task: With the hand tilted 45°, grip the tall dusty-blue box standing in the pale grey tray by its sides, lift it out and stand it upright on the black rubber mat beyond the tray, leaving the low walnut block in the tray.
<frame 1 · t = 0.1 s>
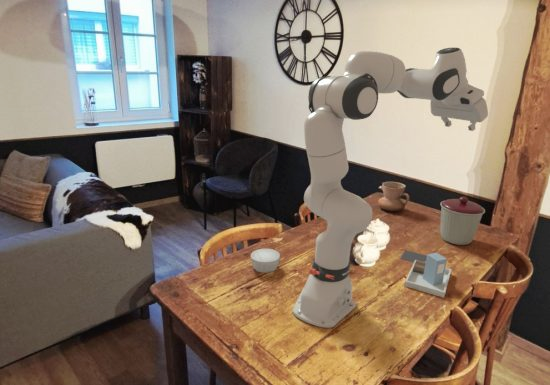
hand: (459, 127, 136), 54 cm above the table, tool tilted 30°, fingers open, 8 cm apart
mat: (413, 258, 154), on the table
canister: (455, 240, 171), on the table
tray: (427, 281, 138), on the table
ramekin: (265, 267, 144), on the table
blue box: (432, 280, 137), point 1 cm above the table, touching tray
ceramic jug: (391, 209, 207), on the table
walnut block: (420, 270, 143), point 1 cm above the table, touching tray
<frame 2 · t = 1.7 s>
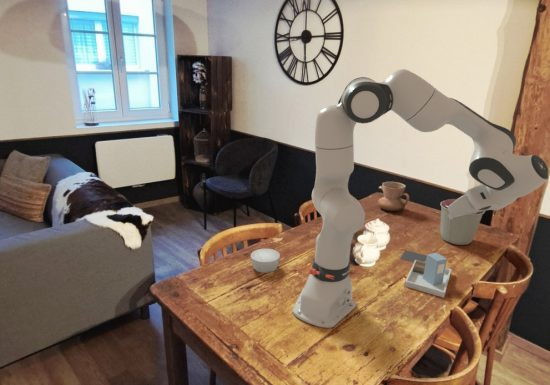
hand: (460, 214, 121), 30 cm above the table, tool tilted 45°, fingers open, 8 cm apart
nothing on the table moved.
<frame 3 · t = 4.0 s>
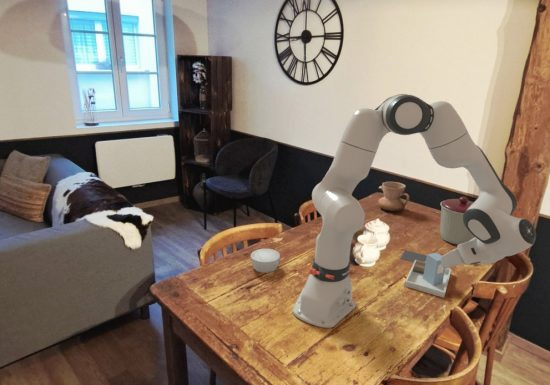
hand: (453, 262, 127), 12 cm above the table, tool tilted 45°, fingers open, 8 cm apart
nothing on the table moved.
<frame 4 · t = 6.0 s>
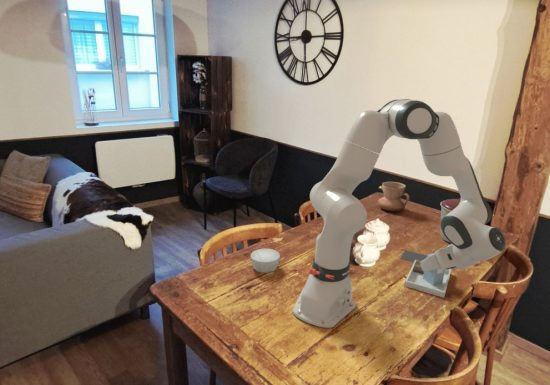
hand: (433, 266, 135), 6 cm above the table, tool tilted 45°, fingers closed on blue box, 4 cm apart
blue box: (432, 280, 137), point 1 cm above the table, touching gripper, tray
everything else where it was.
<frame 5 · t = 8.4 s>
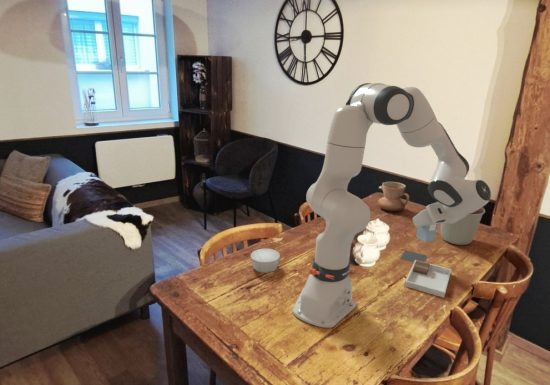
hand: (426, 224, 143), 18 cm above the table, tool tilted 45°, fingers closed on blue box, 4 cm apart
blue box: (425, 238, 144), point 12 cm above the table, touching gripper
everything else where it was.
when the fingers open (7 cm above the table, at t = 11.1 s): blue box drops 1 cm, resting on mat.
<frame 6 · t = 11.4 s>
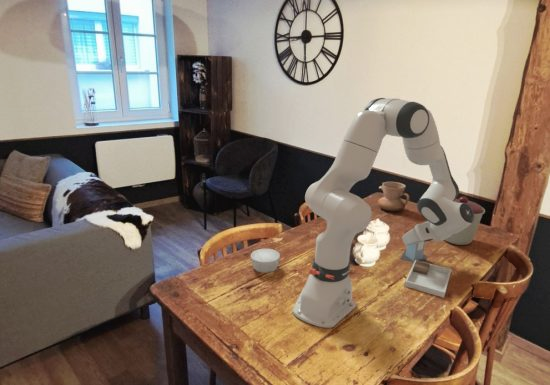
hand: (415, 241, 152), 7 cm above the table, tool tilted 45°, fingers open, 7 cm apart
blue box: (413, 257, 153), point 1 cm above the table, touching mat
everything else where it was.
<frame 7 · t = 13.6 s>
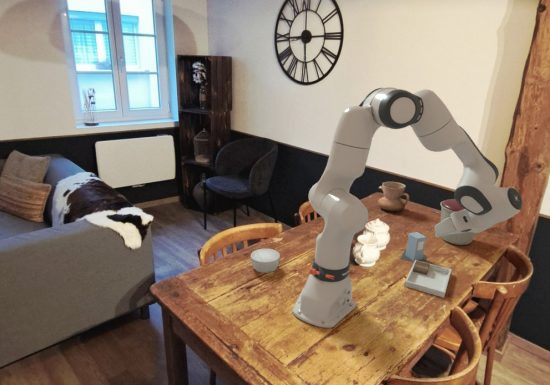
hand: (446, 233, 135), 18 cm above the table, tool tilted 45°, fingers open, 8 cm apart
nothing on the table moved.
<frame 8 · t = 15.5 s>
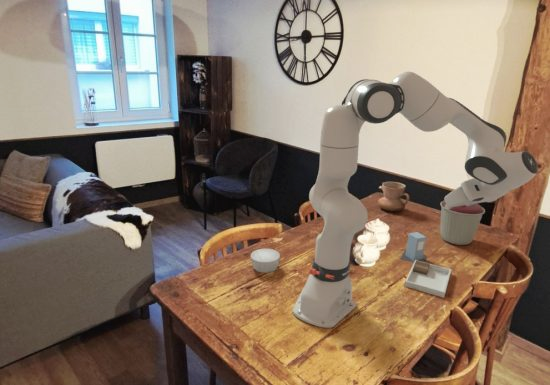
hand: (457, 205, 129), 29 cm above the table, tool tilted 45°, fingers open, 8 cm apart
nothing on the table moved.
at the end: blue box inside the target area on the mat (0.1 cm from its centre), point 0.6 cm above the mat's base; blue box tilted 0°; the gripper is holding nothing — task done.
